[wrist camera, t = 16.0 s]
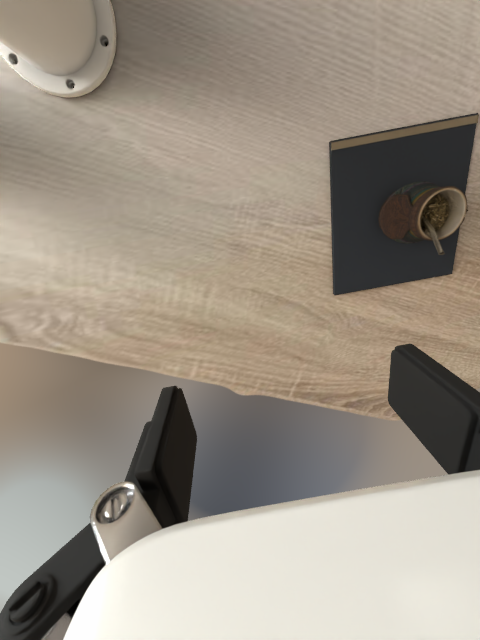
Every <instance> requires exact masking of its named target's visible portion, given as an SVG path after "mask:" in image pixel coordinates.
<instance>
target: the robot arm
mask: <svg viewBox="0 0 480 640" xmlns="http://www.w3.org/2000/svg"><path fill="white" fill-rule="evenodd" d="M116 39H117V38H116V22H115V17H114V12H113V7H112V4H111V1H110V0H0V55H1V56H2V57H3V59H4V60H5V61H6V62H7V63H8V64H9V66H10V67H11V68H12V69H13V70H14V71H15V72H16V73H18V74H19V75H20V76H21V77H22V78H23V79H25V80H26V81H27V82H29V83H30V84H32V85H33V86H35V87H37V88H39V89H40V90H42V91H44V92H46V93H49V94H52V95H55V96H58V97H68V98H71V97H79V96H82V95H85V94H87V93H90V92H91V91H93V90H94V89H95V88H97V87H98V86H99V85H100V84H101V83H102V81H103V80H104V79H105V78H106V76H107V74H108V72H109V70H110V68H111V66H112V63H113V59H114V55H115V49H116ZM107 43H109V44H108V46H106V44H107ZM73 85H75V87H74V89H73ZM388 401H389V404H390V406H391V407H392V408H393V410H394V411H395V412H396V413H397V414H398V415H399V417H400V418H401V419H402V420H403V421H404V423H405V424H406V425H407V426H408V427H409V428H410V430H411V431H412V432H413V433H414V434H415V435H416V437H417V438H418V439H419V440H420V441H421V443H422V444H423V445H424V446H425V447H426V449H427V450H428V451H429V452H430V453H431V454H432V455H433V457H434V458H435V459H436V460H437V462H438V463H439V464H440V465H441V466H442V467H443V469H444V470H445V471H446V472H447V473H448V474H449V475H443V476H437V477H431V478H425V479H419V480H413V481H407V482H401V483H395V484H389V485H383V486H377V487H371V488H366V489H360V490H353V491H348V492H343V493H336V494H330V495H324V496H319V497H313V498H307V499H301V500H296V501H290V502H285V503H279V504H273V505H268V506H263V507H257V508H251V509H245V510H240V511H235V512H230V513H225V514H220V515H214V516H209V517H204V518H199V519H195V520H191V521H188V512H189V504H190V496H191V487H192V486H191V485H192V478H193V469H194V461H195V452H196V443H197V435H196V431H195V428H194V425H193V422H192V419H191V416H190V412H189V409H188V406H187V403H186V400H185V397H184V394H183V391H182V389H181V388H179V389H178V388H177V387H176V386H171V387H166V388H163V389H162V391H161V394H160V397H159V400H158V403H157V406H156V409H155V412H154V415H153V418H152V421H150V422H147V423H146V424H145V426H144V429H143V432H142V435H141V437H140V440H139V443H138V446H137V448H136V452H135V454H134V457H133V459H132V462H131V465H130V468H129V471H128V474H127V476H126V479H125V482H120V483H117V484H114V485H113V486H111V487H110V488H108V489H107V490H106V491H105V492H103V493H102V494H101V495H100V497H99V498H98V499H97V500H96V502H95V504H94V506H93V508H92V510H91V514H90V523H89V524H88V525H87V526H86V527H85V528H84V529H83V530H81V531H80V532H79V533H78V534H77V535H76V536H75V537H74V538H72V540H70V541H69V542H68V543H67V544H66V545H65V546H63V547H62V548H61V549H60V550H59V551H58V552H57V553H56V554H54V555H53V556H52V557H51V558H50V559H49V560H48V561H46V562H45V563H44V564H43V565H42V566H41V567H40V568H39V569H37V570H36V571H35V572H34V573H33V574H32V575H31V576H30V577H28V578H27V579H26V580H25V581H24V582H23V583H22V584H21V585H20V586H19V587H18V588H17V589H16V590H15V592H14V593H13V594H12V596H11V597H10V598H9V599H8V601H7V602H6V604H5V606H4V608H3V610H2V611H1V613H0V640H480V392H478V391H477V390H475V389H474V388H473V387H471V386H470V385H468V384H467V383H466V382H464V381H463V380H462V379H460V378H459V377H457V376H456V375H455V374H453V373H452V372H450V371H449V370H448V369H446V368H445V367H443V366H442V365H441V364H439V363H438V362H436V361H435V360H434V359H432V358H431V357H429V356H428V355H427V354H425V353H424V352H423V351H421V350H420V349H418V348H417V347H416V346H414V345H412V344H406V345H400V346H396V347H395V350H393V351H392V353H391V365H390V378H389V391H388Z"/></svg>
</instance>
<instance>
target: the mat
mask: <svg viewBox="0 0 480 640" xmlns="http://www.w3.org/2000/svg"><path fill="white" fill-rule="evenodd" d="M478 116H479V115H478V113H476V114H470V115H465V116H460V117H455V118H449V119H444V120H439V121H434V122H428V123H423V124H418V125H413V126H407V127H402V128H397V129H392V130H387V131H381V132H376V133H371V134H366V135H360V136H355V137H350V138H345V139H339V140H334V141H331V142H329V147H330V185H331V222H332V259H333V294H334V295H339V294H344V293H350V292H355V291H361V290H366V289H372V288H377V287H383V286H388V285H393V284H399V283H404V282H410V281H415V280H421V279H426V278H432V277H437V276H443V275H448V274H452V271H453V265H454V258H455V252H456V246H457V240H458V234H459V228H460V227H459V228H458V229H457V230H456V231H455V232H454V233H453V234H452V235H450V236H449V237H447V238H445V239H442V240H439V242H440V244H441V247H442V250H443V251H444V253H445V254H443V255H439V254H438V252H437V249H436V247H435V245H434V242H433V241H428V240H423V241H420V242H417V243H410V244H403V243H399V242H396V241H394V240H392V239H390V238H388V237H387V236H386V235H385V234H384V233H383V231H382V229H381V228H380V226H379V221H378V218H379V212H380V209H381V207H382V205H383V203H384V202H385V201H386V199H387V198H388V197H389V196H390V195H391V194H392V193H393V192H395V191H396V190H398V189H400V188H401V187H404V186H406V185H408V184H410V183H414V182H424V181H426V182H430V183H434V184H436V185H438V186H440V187H446V186H454V187H457V188H459V189H460V190H461V191H463V193H464V194H465V191H466V185H467V178H468V172H469V166H470V160H471V154H472V148H473V142H474V135H475V129H476V123H478Z"/></svg>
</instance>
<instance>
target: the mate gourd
mask: <svg viewBox="0 0 480 640" xmlns="http://www.w3.org/2000/svg"><path fill="white" fill-rule="evenodd" d="M467 211H468V210H467V199H466V196H465V194H464V193H463V191H461V190H460V189H459V188H457V187H454V186H446V187H440V186H438V185H436V184H434V183H430V182H426V181H424V182H414V183H410V184H408V185H406V186H404V187H401V188H400V189H398V190H396V191H395V192H393V193H392V194H391V195H390V196H389V197H388V198H387V199H386V201H385V202H384V203H383V205H382V207H381V209H380V212H379V218H378V221H379V226H380V228H381V229H382V231H383V233H384V234H385V235H386V236H387V237H388V238H390V239H392V240H394V241H396V242H399V243H403V244H410V243H417V242H420V241H423V240H428V241H433V242H434V245H435V247H436V249H437V252H438V254H439V255H443V254H445V253H444V251H443V250H442V247H441V244H440V242H439V240H442V239H445V238H447V237H449V236H450V235H452V234H453V233H454V232H455V231H456V230H457V229H458V228H459V227H460V225H461V224H462V222H463V221H464V219H465V214H466V212H467Z"/></svg>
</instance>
